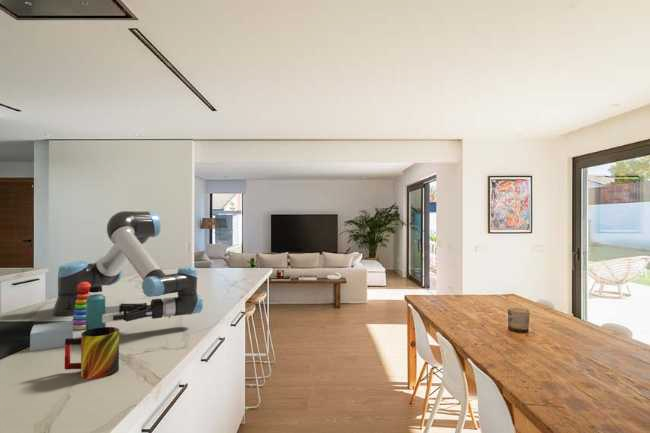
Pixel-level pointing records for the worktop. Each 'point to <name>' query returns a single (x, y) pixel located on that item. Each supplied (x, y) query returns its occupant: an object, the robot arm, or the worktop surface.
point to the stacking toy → (81, 306)
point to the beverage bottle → (95, 308)
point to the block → (50, 335)
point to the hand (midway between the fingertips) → (101, 314)
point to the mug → (95, 352)
